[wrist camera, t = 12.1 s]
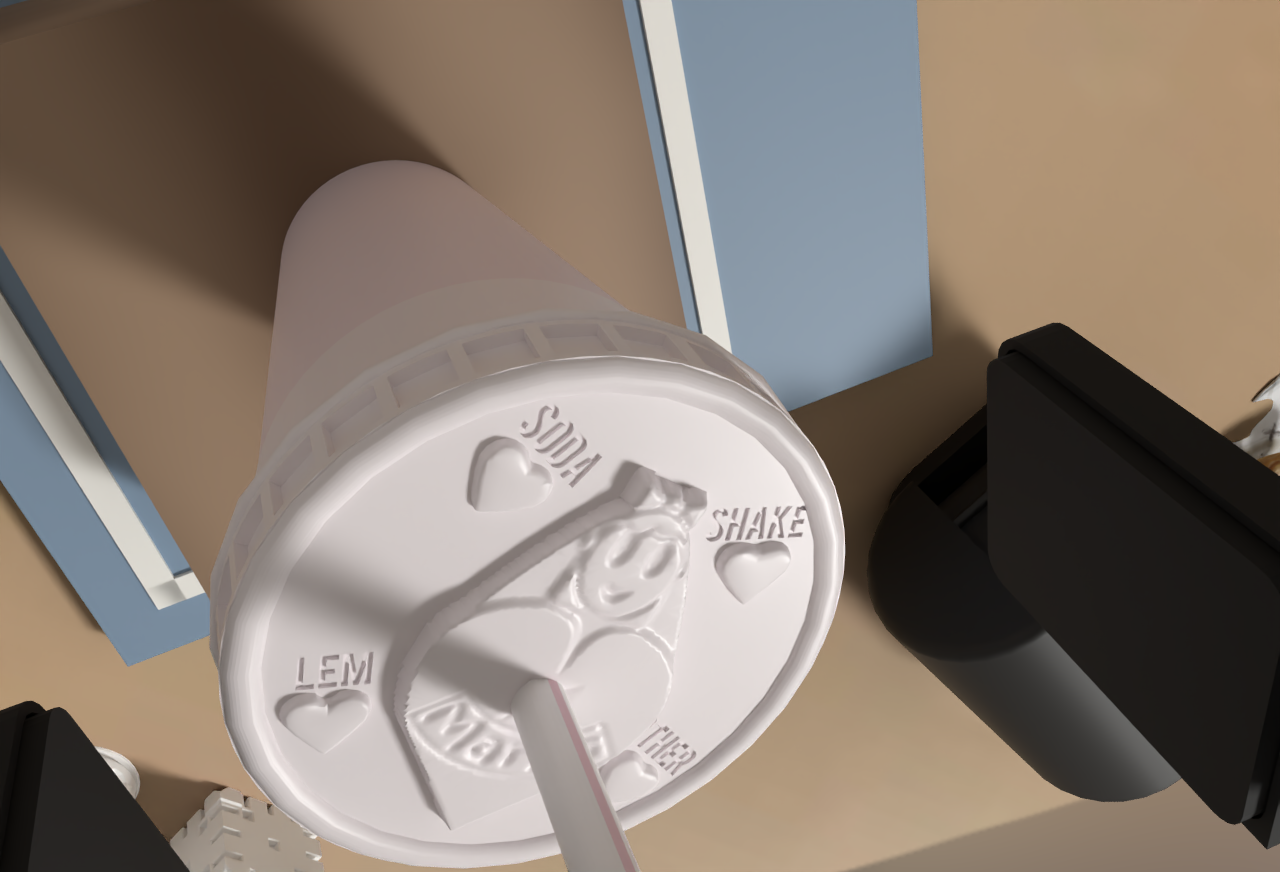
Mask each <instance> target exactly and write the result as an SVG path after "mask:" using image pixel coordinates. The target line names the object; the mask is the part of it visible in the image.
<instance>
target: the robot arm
mask: <svg viewBox="0 0 1280 872" xmlns="http://www.w3.org/2000/svg"><path fill="white" fill-rule="evenodd" d="M987 499H988V555H989V559H990V563H991V565H992V567H993V570H994V572H995V574H996V575H997V577H998V579H999V580H1000V581H1001V583H1002V584H1003V585H1004V586H1005V587H1006V588H1007V590H1008V591H1009V592H1010V593H1011V594H1012V595H1013V596H1014V597H1015V598H1016V599H1017V600H1018V601H1019V602H1020V604H1021V605H1022V606H1023V607H1024V608H1025V609H1026V610H1027V611H1028V612H1029V613H1030V614H1031V615H1032V617H1033V618H1034V619H1035V620H1036V621H1037V622H1038V623H1039V624H1040V625H1041V626H1042V627H1043V628H1044V629H1045V631H1046V632H1047V633H1048V634H1049V635H1050V636H1051V637H1052V638H1053V639H1054V640H1055V641H1056V642H1057V644H1058V645H1059V646H1060V647H1061V648H1062V649H1063V650H1064V651H1065V652H1066V653H1067V654H1068V655H1069V657H1070V658H1071V659H1072V660H1073V661H1074V662H1075V663H1076V664H1077V665H1078V666H1079V667H1080V668H1081V669H1082V671H1083V672H1084V673H1085V674H1086V675H1087V676H1088V677H1089V678H1090V679H1091V680H1092V681H1093V682H1094V684H1095V685H1096V686H1097V687H1098V688H1099V689H1100V690H1101V691H1102V692H1103V693H1104V694H1105V695H1106V697H1107V698H1108V699H1109V700H1110V701H1111V702H1112V703H1113V704H1114V705H1115V706H1116V707H1117V708H1118V709H1119V711H1120V712H1121V713H1122V714H1123V715H1124V716H1125V717H1126V718H1127V719H1128V720H1129V721H1130V722H1131V724H1132V725H1133V726H1134V727H1135V728H1136V729H1137V730H1138V731H1139V732H1140V733H1141V734H1142V735H1143V737H1144V738H1145V739H1146V740H1147V741H1148V742H1149V743H1150V744H1151V745H1152V746H1153V747H1154V748H1155V749H1156V751H1157V752H1158V753H1159V754H1160V755H1161V756H1162V757H1163V758H1164V759H1165V760H1166V761H1167V762H1168V764H1169V765H1170V766H1171V767H1172V768H1173V769H1174V770H1175V771H1176V772H1177V773H1178V774H1179V775H1180V776H1181V778H1182V779H1183V780H1184V781H1185V782H1186V783H1187V784H1188V785H1189V786H1190V787H1191V788H1192V789H1193V790H1194V791H1195V793H1196V794H1197V795H1198V796H1199V797H1200V798H1201V799H1202V800H1203V801H1204V802H1205V803H1206V805H1207V806H1208V807H1209V808H1210V809H1211V810H1212V811H1213V812H1214V813H1215V814H1216V815H1217V816H1218V817H1219V818H1221V819H1222V820H1224V821H1225V822H1227V823H1230V824H1234V825H1235V824H1238V823H1242V824H1243V825H1244V826H1245V827H1246V828H1247V829H1248V830H1249V831H1250V832H1251V833H1252V834H1253V835H1254V836H1255V837H1256V839H1257V840H1258V841H1259V842H1260V843H1261V844H1262V845H1263V846H1264V847H1265V848H1266V849H1269V848H1271V847H1273V846H1276V845H1278V844H1279V843H1280V476H1279V475H1278V474H1276V473H1275V472H1273V471H1272V470H1271V469H1269V468H1268V467H1266V466H1265V465H1263V464H1262V463H1261V462H1259V461H1258V460H1256V459H1255V458H1254V457H1252V456H1251V455H1249V454H1248V453H1246V452H1245V451H1244V450H1242V449H1241V448H1239V447H1238V446H1236V445H1235V444H1234V443H1232V442H1231V441H1229V440H1228V439H1227V438H1225V437H1224V436H1222V435H1221V434H1219V433H1218V432H1217V431H1215V430H1214V429H1212V428H1211V427H1210V426H1208V425H1207V424H1205V423H1204V422H1202V421H1201V420H1200V419H1198V418H1197V417H1195V416H1194V415H1193V414H1191V413H1190V412H1188V411H1187V410H1185V409H1184V408H1183V407H1181V406H1180V405H1178V404H1177V403H1176V402H1174V401H1173V400H1171V399H1170V398H1168V397H1167V396H1166V395H1164V394H1163V393H1161V392H1160V391H1159V390H1157V389H1156V388H1154V387H1153V386H1151V385H1150V384H1149V383H1147V382H1146V381H1144V380H1143V379H1142V378H1140V377H1139V376H1137V375H1136V374H1134V373H1133V372H1132V371H1130V370H1129V369H1127V368H1126V367H1125V366H1123V365H1122V364H1120V363H1119V362H1117V361H1116V360H1115V359H1113V358H1112V357H1110V356H1109V355H1108V354H1106V353H1105V352H1103V351H1102V350H1100V349H1099V348H1098V347H1096V346H1095V345H1093V344H1092V343H1090V342H1089V341H1088V340H1086V339H1085V338H1083V337H1082V336H1081V335H1079V334H1078V333H1076V332H1075V331H1073V330H1072V329H1071V328H1069V327H1068V326H1066V325H1063V324H1061V323H1051V324H1048V325H1046V326H1043V327H1040V328H1038V329H1035V330H1032V331H1029V332H1027V333H1024V334H1021V335H1019V336H1016V337H1013V338H1010V339H1008V340H1006V341H1005V342H1003V343H1002V344H1001V346H1000V348H999V351H998V358H997V359H994V360H993V361H991V362H990V363H989V365H988V368H987ZM0 872H190V871H189V869H188V868H187V867H186V865H185V864H184V863H183V861H182V860H181V859H180V857H179V856H178V855H177V854H176V852H175V851H174V850H173V848H172V847H171V846H170V844H169V843H168V842H167V841H166V839H165V838H164V837H163V835H162V834H161V833H160V831H159V830H158V829H157V828H156V826H155V825H154V824H153V822H152V821H151V820H150V818H149V817H148V816H147V815H146V813H145V812H144V811H143V809H142V808H141V807H140V805H139V804H138V803H137V801H136V800H135V799H134V798H133V796H132V795H131V794H130V792H129V791H128V790H127V788H126V787H125V786H124V785H123V783H122V782H121V781H120V779H119V778H118V777H117V775H116V774H115V773H114V772H113V770H112V769H111V768H110V766H109V765H108V764H107V762H106V761H105V760H104V759H103V757H102V756H101V755H100V753H99V752H98V751H97V749H96V748H95V747H94V745H93V744H92V743H91V742H90V740H89V739H88V738H87V736H86V735H85V734H84V732H83V731H82V730H81V729H80V727H79V726H78V725H77V723H76V722H75V721H74V719H73V718H72V717H71V716H70V715H69V713H68V712H67V711H66V710H64V709H62V708H60V707H57V708H53V709H50V710H48V711H45V710H44V709H43V707H42V706H41V705H40V704H38V703H36V702H34V701H25V702H22V703H20V704H17V705H14V706H12V707H9V708H6V709H3V710H1V711H0Z"/></svg>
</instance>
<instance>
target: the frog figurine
mask: <svg viewBox="0 0 1280 872" xmlns="http://www.w3.org/2000/svg"><path fill="white" fill-rule="evenodd" d="M1264 399H1271V400H1273V407H1272V409H1271V410H1270V411H1269V413H1268V414H1267V415H1266V416H1265V417H1264V418H1263V419H1262V420H1261V421H1260V422H1259V423H1258V424H1257V425H1256V426H1255V427H1254V428H1253V429H1252V431H1251V434H1250V436H1249V437H1247V438H1245V439H1243V440H1240V441H1237V442H1233V443H1234V444H1235V445H1236V446H1238V447H1239V448H1241V449H1242V450H1244V451H1245V452H1246V453H1248V454H1249V455H1251V456H1252V457H1254V458H1255V459H1256V460H1258V461H1259V462H1261V463H1262V464H1263V465H1265V466H1266V467H1268V468H1269V469H1271V470H1272V471H1273V472H1275V473H1276V474H1278V475H1279V476H1280V375H1279V376H1278V377H1276V378H1275V379H1274V380H1273V381H1272V382H1271V383H1270V384H1269V385H1268V386H1267V387H1266V388H1265V389H1263V390H1262V391H1261V392H1260V393H1259V394H1258V395H1257V396H1256V398H1255V399H1254V400H1253V402H1256V401H1260V400H1264Z"/></svg>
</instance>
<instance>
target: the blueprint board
mask: <svg viewBox="0 0 1280 872" xmlns="http://www.w3.org/2000/svg"><path fill="white" fill-rule="evenodd" d="M23 1H27V0H0V8H1V7H5V6H9V5H12V4H16V3H19V2H23ZM622 1H623V6H624V12H625V17H626V22H627V27H628V32H629V37H630V42H631V47H632V52H633V57H634V62H635V67H636V72H637V78H638V83H639V88H640V93H641V98H642V103H643V108H644V113H645V118H646V123H647V128H648V133H649V138H650V144H651V149H652V154H653V159H654V164H655V169H656V174H657V179H658V184H659V189H660V194H661V199H662V204H663V210H664V215H665V220H666V225H667V230H668V235H669V240H670V245H671V250H672V255H673V260H674V265H675V271H676V276H677V281H678V286H679V291H680V296H681V301H682V306H683V311H684V316H685V321H686V326H687V329H688V330H691V331H694V332H697V333H700V334H703V335H706V336H708V337H709V338H710V339H712V340H713V341H715V342H716V343H717V344H719V345H720V346H722V347H723V348H724V349H726V350H727V351H729V352H730V353H731V354H733V355H734V356H735V357H737V358H738V359H740V360H741V361H742V362H744V363H745V364H747V365H748V366H749V367H751V368H752V369H754V370H755V371H756V372H758V373H759V374H761V375H762V376H763V377H764V379H765V380H766V381H767V383H768V384H769V386H770V387H771V389H772V390H773V391H774V393H775V394H776V396H777V397H778V399H779V400H780V401H781V403H782V404H783V406H784V407H785V408H786V410H787V411H788V412H789V411H791V410H794V409H797V408H799V407H802V406H804V405H807V404H809V403H812V402H815V401H817V400H820V399H822V398H825V397H828V396H830V395H833V394H835V393H838V392H841V391H843V390H846V389H848V388H851V387H853V386H856V385H859V384H861V383H864V382H866V381H869V380H872V379H874V378H877V377H879V376H882V375H885V374H887V373H890V372H892V371H895V370H898V369H900V368H903V367H905V366H908V365H910V364H913V363H916V362H918V361H921V360H923V359H926V358H929V357H931V356H933V349H932V327H931V305H930V284H929V262H928V240H927V218H926V197H925V175H924V153H923V131H922V110H921V88H920V66H919V44H918V23H917V1H916V0H622ZM0 480H1V482H2V483H3V485H4V486H5V488H6V489H7V491H8V492H9V494H10V495H11V496H12V498H13V499H14V501H15V502H16V504H17V505H18V507H19V508H20V510H21V511H22V513H23V514H24V515H25V517H26V518H27V520H28V521H29V523H30V524H31V526H32V527H33V529H34V530H35V532H36V533H37V534H38V536H39V537H40V539H41V540H42V542H43V543H44V545H45V546H46V548H47V549H48V551H49V552H50V553H51V555H52V556H53V558H54V559H55V561H56V562H57V564H58V565H59V567H60V568H61V570H62V571H63V572H64V574H65V575H66V577H67V578H68V580H69V581H70V583H71V584H72V586H73V587H74V589H75V590H76V591H77V593H78V594H79V596H80V597H81V599H82V600H83V602H84V603H85V605H86V606H87V608H88V609H89V610H90V612H91V613H92V615H93V616H94V618H95V619H96V621H97V622H98V624H99V625H100V627H101V628H102V629H103V631H104V632H105V634H106V635H107V637H108V638H109V640H110V641H111V643H112V644H113V645H114V647H115V648H116V650H117V651H118V653H119V654H120V656H121V657H122V659H123V660H124V662H125V663H126V664H127V666H131V665H133V664H136V663H139V662H141V661H144V660H146V659H149V658H152V657H154V656H157V655H159V654H162V653H165V652H167V651H170V650H172V649H175V648H178V647H180V646H183V645H185V644H188V643H190V642H193V641H196V640H198V639H201V638H203V637H206V636H209V635H210V600H209V598H208V596H207V594H206V593H205V591H204V589H203V588H202V586H201V584H200V583H199V581H198V579H197V578H196V576H195V574H194V572H193V571H192V569H191V567H190V566H189V564H188V562H187V561H186V559H185V557H184V556H183V554H182V552H181V550H180V549H179V547H178V545H177V544H176V542H175V540H174V539H173V537H172V535H171V533H170V532H169V530H168V528H167V527H166V525H165V523H164V522H163V520H162V518H161V517H160V515H159V513H158V511H157V510H156V508H155V506H154V505H153V503H152V501H151V500H150V498H149V496H148V495H147V493H146V491H145V489H144V488H143V486H142V484H141V483H140V481H139V479H138V478H137V476H136V474H135V472H134V471H133V469H132V467H131V466H130V464H129V462H128V461H127V459H126V457H125V456H124V454H123V452H122V450H121V449H120V447H119V445H118V444H117V442H116V440H115V439H114V437H113V435H112V434H111V432H110V430H109V428H108V427H107V425H106V423H105V422H104V420H103V418H102V417H101V415H100V413H99V411H98V410H97V408H96V406H95V405H94V403H93V401H92V400H91V398H90V396H89V395H88V393H87V391H86V389H85V388H84V386H83V384H82V383H81V381H80V379H79V378H78V376H77V374H76V373H75V371H74V369H73V367H72V366H71V364H70V362H69V361H68V359H67V357H66V356H65V354H64V352H63V351H62V349H61V347H60V345H59V344H58V342H57V340H56V339H55V337H54V335H53V334H52V332H51V330H50V328H49V327H48V325H47V323H46V322H45V320H44V318H43V317H42V315H41V313H40V312H39V310H38V308H37V306H36V305H35V303H34V301H33V300H32V298H31V296H30V295H29V293H28V291H27V290H26V288H25V286H24V284H23V283H22V281H21V279H20V278H19V276H18V274H17V273H16V271H15V269H14V267H13V266H12V264H11V262H10V261H9V259H8V257H7V256H6V254H5V252H4V251H3V249H2V247H1V245H0Z"/></svg>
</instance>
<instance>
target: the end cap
mask: <svg viewBox="0 0 1280 872" xmlns="http://www.w3.org/2000/svg"><path fill="white" fill-rule="evenodd" d="M867 577H868V587H869V594H870V597H871V600H872V603H873V606H874V609H875V611H876V613H877V615H878V616H879V618H880V619H881V621H882V623H883V624H884V626H885V627H886V629H887V630H888V631H889V632H890V633H891V634H892V635H893V636H894V637H895V638H896V639H897V640H898V641H899V642H900V643H901V644H902V645H903V646H904V647H905V648H906V649H908V650H909V651H910V652H911V653H912V654H913V655H914V656H915V657H916V658H917V659H918V660H919V661H920V662H921V663H922V664H923V665H924V666H925V667H926V668H928V669H929V670H930V671H931V672H932V673H933V674H934V675H935V676H936V677H937V678H938V679H939V680H940V681H941V682H942V683H943V684H944V685H945V686H946V687H948V688H949V689H950V690H951V691H952V692H953V693H954V694H955V695H956V696H957V697H958V698H959V699H960V700H961V701H962V702H963V703H964V704H965V705H966V706H968V707H969V708H970V709H971V710H972V711H973V712H974V713H975V714H976V715H977V716H978V717H979V718H980V719H981V720H982V721H983V722H984V723H985V724H986V725H988V726H989V727H990V728H991V729H992V730H993V731H994V732H995V733H996V734H997V735H998V736H999V737H1000V738H1001V739H1002V740H1003V741H1004V742H1005V743H1006V744H1008V745H1009V746H1010V747H1011V748H1012V749H1013V750H1014V751H1015V752H1016V753H1017V754H1018V755H1019V756H1020V757H1021V758H1022V759H1023V760H1024V761H1025V762H1026V763H1028V764H1029V765H1030V766H1031V767H1032V768H1033V769H1034V770H1035V771H1036V772H1037V773H1038V774H1039V775H1040V776H1041V777H1042V778H1043V779H1045V780H1046V781H1048V782H1049V783H1051V784H1052V785H1054V786H1056V787H1057V788H1059V789H1060V790H1062V791H1065V792H1067V793H1070V794H1073V795H1075V796H1078V797H1080V798H1084V799H1090V800H1096V801H1101V802H1124V801H1129V800H1134V799H1139V798H1144V797H1147V796H1149V795H1152V794H1154V793H1157V792H1159V791H1162V790H1164V789H1166V788H1168V787H1169V786H1171V785H1172V784H1174V783H1175V782H1177V781H1178V780H1180V779H1181V776H1180V775H1179V774H1178V773H1177V772H1176V771H1175V770H1174V769H1173V768H1172V767H1171V766H1170V765H1169V764H1168V762H1167V761H1166V760H1165V759H1164V758H1163V757H1162V756H1161V755H1160V754H1159V753H1158V752H1157V751H1156V749H1155V748H1154V747H1153V746H1152V745H1151V744H1150V743H1149V742H1148V741H1147V740H1146V739H1145V738H1144V737H1143V735H1142V734H1141V733H1140V732H1139V731H1138V730H1137V729H1136V728H1135V727H1134V726H1133V725H1132V724H1131V722H1130V721H1129V720H1128V719H1127V718H1126V717H1125V716H1124V715H1123V714H1122V713H1121V712H1120V711H1119V709H1118V708H1117V707H1116V706H1115V705H1114V704H1113V703H1112V702H1111V701H1110V700H1109V699H1108V698H1107V697H1106V695H1105V694H1104V693H1103V692H1102V691H1101V690H1100V689H1099V688H1098V687H1097V686H1096V685H1095V684H1094V682H1093V681H1092V680H1091V679H1090V678H1089V677H1088V676H1087V675H1086V674H1085V673H1084V672H1083V671H1082V669H1081V668H1080V667H1079V666H1078V665H1077V664H1076V663H1075V662H1074V661H1073V660H1072V659H1071V658H1070V657H1069V655H1068V654H1067V653H1066V652H1065V651H1064V650H1063V649H1062V648H1061V647H1060V646H1059V645H1058V644H1057V642H1056V641H1055V640H1054V639H1053V638H1052V637H1051V636H1050V635H1049V634H1048V633H1047V632H1046V631H1045V629H1044V628H1043V627H1042V626H1041V625H1040V624H1039V623H1038V622H1037V621H1036V620H1035V619H1034V618H1033V617H1032V615H1031V614H1030V613H1029V612H1028V611H1027V610H1026V609H1025V608H1024V607H1023V606H1022V605H1021V604H1020V602H1019V601H1018V600H1017V599H1016V598H1015V597H1014V596H1013V595H1012V594H1011V593H1010V592H1009V591H1008V590H1007V588H1006V587H1005V586H1004V585H1003V584H1002V583H1001V581H1000V580H999V579H998V577H997V575H996V574H995V572H994V570H993V567H992V565H991V563H990V559H989V555H988V499H987V404H986V405H985V406H984V407H983V408H982V409H981V410H979V411H978V412H977V413H976V414H975V415H974V416H973V417H972V418H970V419H969V420H968V421H967V422H966V423H965V424H964V425H962V426H961V427H960V428H959V429H958V430H957V431H956V432H955V433H953V434H952V435H951V436H950V437H949V438H948V439H947V440H946V441H944V442H943V443H942V444H941V445H940V446H939V447H938V448H937V449H935V450H934V451H933V452H932V453H931V454H930V455H929V456H927V457H926V458H925V459H924V460H923V461H922V462H921V463H920V464H918V465H917V466H916V467H915V468H914V469H913V470H912V471H911V472H910V473H909V474H908V475H907V476H906V477H905V479H904V480H903V481H902V482H901V484H900V485H899V486H898V488H897V489H896V490H895V491H894V493H893V495H892V498H891V501H890V503H889V506H888V509H887V511H886V512H885V513H884V515H883V517H882V519H881V521H880V523H879V525H878V527H877V529H876V531H875V534H874V537H873V541H872V544H871V547H870V551H869V558H868V568H867Z"/></svg>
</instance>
